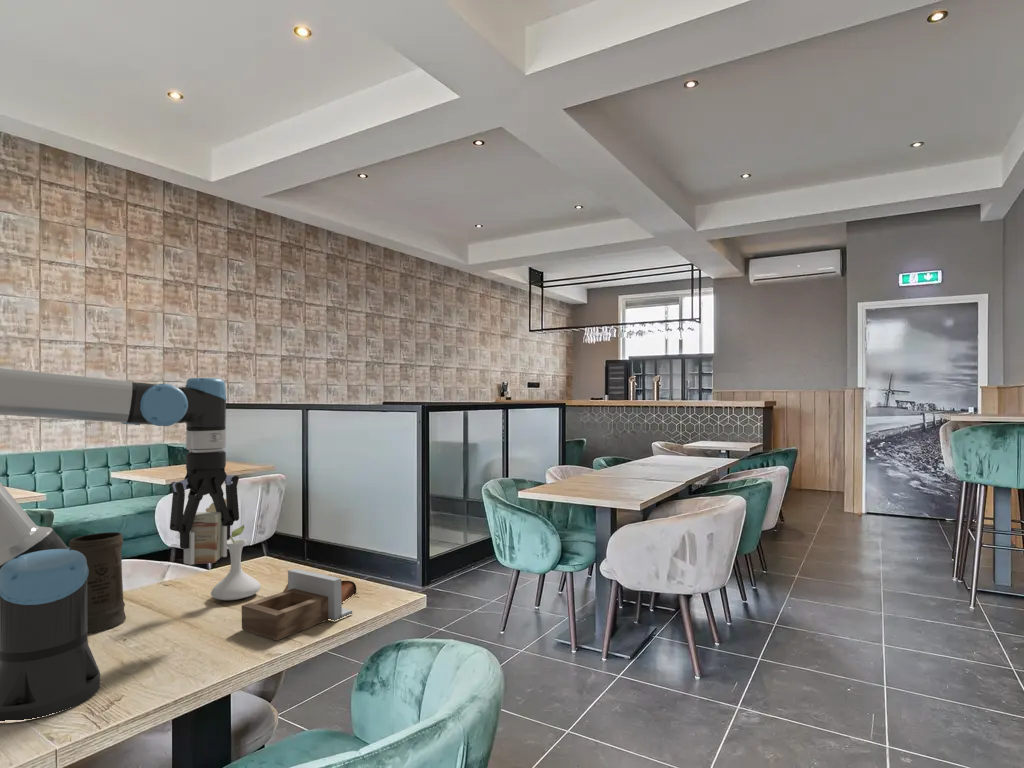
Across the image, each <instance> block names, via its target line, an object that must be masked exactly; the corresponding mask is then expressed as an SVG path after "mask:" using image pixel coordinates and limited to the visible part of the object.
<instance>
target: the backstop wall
mask: <svg viewBox="0 0 1024 768" xmlns="http://www.w3.org/2000/svg"><path fill="white" fill-rule="evenodd" d="M341 581H342V578H341V577H337V576H332V575H327V574H322V573H318V572H313V571H308V570H304V569H299V568H293V569H289V570H287V584H288V590H290V589H293V588H294V589H298V590H302V591H306V592H311V593H315V594H319V595H323V596H327V597H328V617H329V619H331V620H334V621H335V620H337V619H340V618H342V617H344V616H347V615H349V614H352V615H353V610H352V609H348V608H344V607H342V606H343V604H342V597H341Z"/></svg>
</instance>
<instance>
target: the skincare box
mask: <svg viewBox="0 0 1024 768" xmlns="http://www.w3.org/2000/svg"><path fill="white" fill-rule="evenodd" d="M221 516H222V514H221V512H206V511H202V512H199V511H197V512H196V515H195V518H194V521H193V525H192V528H191V531H190V532H195V538H194V564H193V565H197V564H203V565H204V564H215V563H216V562H218V560H220V559H221V557H220V551H221Z"/></svg>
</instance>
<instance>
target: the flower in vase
mask: <svg viewBox="0 0 1024 768" xmlns="http://www.w3.org/2000/svg"><path fill="white" fill-rule="evenodd" d="M224 500H225V503H226V506H227V501H226V498H224ZM205 512H216V509H215V506H214V503H213V502H211V504H210V505H209V506H208V507H207V508H205ZM244 530H245V524H243V525H241V526H240V527H238V528H235V529H233V531H232V532H231V534H230V539H229V540H227V550H228V552H229V555H230V557H229V558H230V569H229V572H228V574H227V575H226V576H224V578H223V579H221V580H220V581H219V582H218V583H217V584H216V585H215V586H214V587H212V590H211V591H210V595H211V596H210V597H212V598H213V599H216V600H218V601H219V600H220V601H235V600H236V601H237V600H241V599H244V598H248V597H251V596H253V595H255V594H257V593H258V592H259V591H260V589H261V588H262V586H261V583H260V582H259V581H258V580H257V579H255V578H254V577H252V576H251V575H249V574H247V573H246V572H245V571H243V569H242V564H241V563H242V561H241V560H242V552H243V548H244V545H245V544H246V543H247V539H244V538H237V539H233V538H236V537H237V536H240V535H242V534H243V533H244Z"/></svg>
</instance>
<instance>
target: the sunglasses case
mask: <svg viewBox="0 0 1024 768" xmlns="http://www.w3.org/2000/svg"><path fill="white" fill-rule="evenodd" d="M287 590H288V583H287V584H286V586H285V587H284V590H283V591H282V592H284V591H287ZM354 593H356V594H357V585H356V583H355V582H354V581H351V580H345V579H344V580H341V597H342V602H343V601H345V600H346V599H348V598H349V597H351V596H352V595H353V594H354ZM354 595H355V594H354ZM354 595H353V596H354ZM353 596H352V597H353ZM352 597H351V598H352ZM348 600H349V599H348Z"/></svg>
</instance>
